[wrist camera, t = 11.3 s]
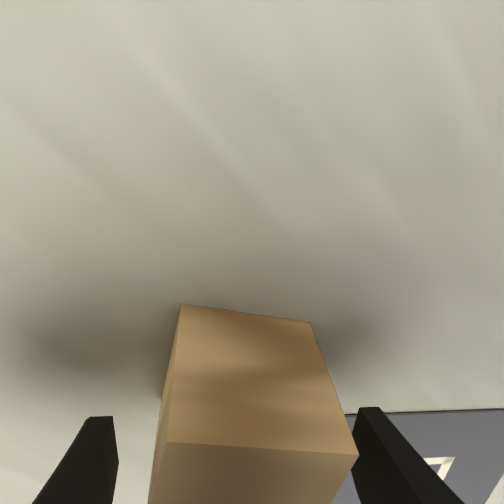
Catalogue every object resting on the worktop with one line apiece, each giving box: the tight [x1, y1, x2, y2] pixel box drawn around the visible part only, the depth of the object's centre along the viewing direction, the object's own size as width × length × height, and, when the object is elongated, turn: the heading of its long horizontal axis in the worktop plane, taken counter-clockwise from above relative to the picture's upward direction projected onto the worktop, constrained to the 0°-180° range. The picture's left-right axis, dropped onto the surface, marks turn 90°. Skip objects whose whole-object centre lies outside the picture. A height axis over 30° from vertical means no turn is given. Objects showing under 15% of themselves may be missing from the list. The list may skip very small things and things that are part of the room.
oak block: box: [147, 304, 359, 504], centre depth 12 cm, size 4×4×5 cm
